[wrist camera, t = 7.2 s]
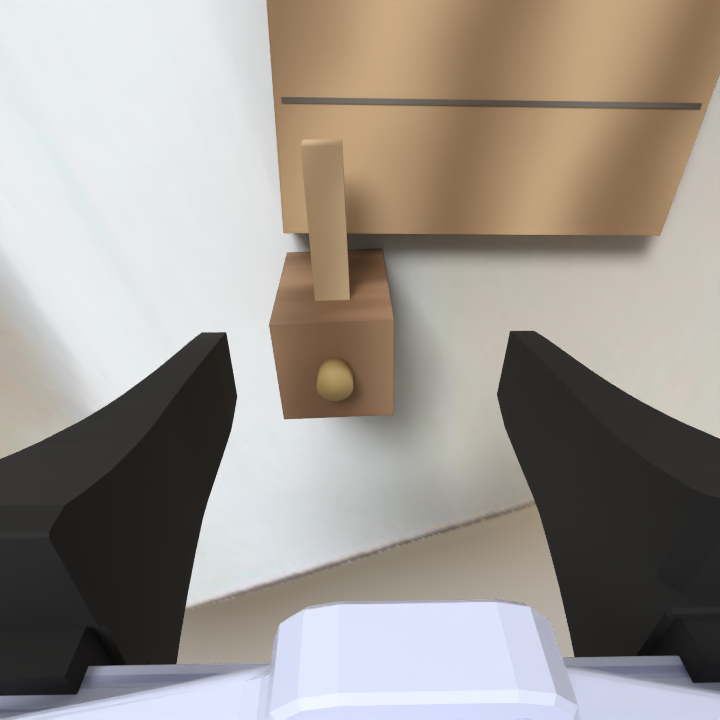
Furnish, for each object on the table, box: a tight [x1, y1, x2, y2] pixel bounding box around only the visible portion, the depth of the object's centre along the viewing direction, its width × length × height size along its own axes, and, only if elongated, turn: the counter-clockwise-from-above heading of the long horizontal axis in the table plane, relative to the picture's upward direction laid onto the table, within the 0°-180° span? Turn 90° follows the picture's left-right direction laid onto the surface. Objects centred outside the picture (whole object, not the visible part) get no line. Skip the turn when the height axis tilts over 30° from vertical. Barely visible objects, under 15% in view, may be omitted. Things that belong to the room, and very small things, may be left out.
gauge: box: [269, 138, 394, 419], centre depth 18 cm, size 4×9×7 cm, turn 2°
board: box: [267, 0, 720, 236], centre depth 17 cm, size 14×8×2 cm, turn 89°
